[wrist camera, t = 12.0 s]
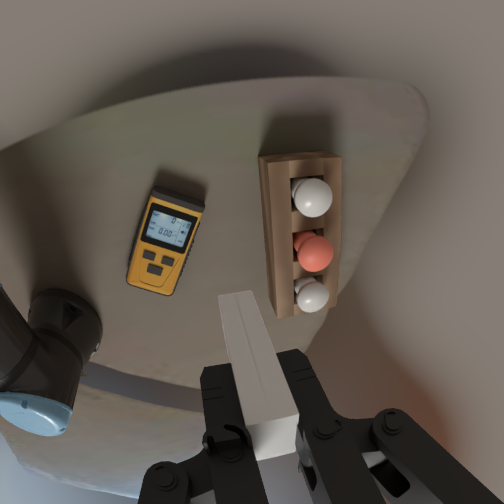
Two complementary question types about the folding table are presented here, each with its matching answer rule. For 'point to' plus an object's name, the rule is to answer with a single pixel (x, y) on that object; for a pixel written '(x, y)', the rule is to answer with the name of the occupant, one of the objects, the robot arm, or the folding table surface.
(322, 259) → the red plug
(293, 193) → the grey plug
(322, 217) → the socket block
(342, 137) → the folding table surface
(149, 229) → the electronic device
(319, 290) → the grey plug
